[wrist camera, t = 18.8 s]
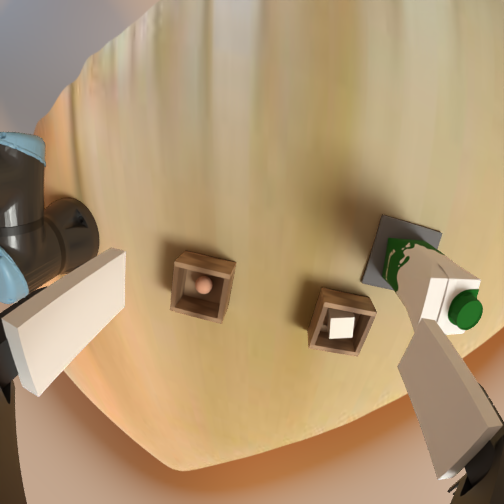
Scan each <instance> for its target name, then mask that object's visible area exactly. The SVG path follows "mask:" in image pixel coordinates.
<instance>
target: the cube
mask: <svg viewBox="0 0 504 504" xmlns="http://www.w3.org/2000/svg"><path fill="white" fill-rule="evenodd" d="M354 318H355V317H354V314H353V312H348V311H343V310H338V309H333V308H328V321H327V328H328V334H329V339H334V338H352V337H353V328H354Z"/></svg>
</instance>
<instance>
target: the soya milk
mask: <svg viewBox="0 0 504 504" xmlns="http://www.w3.org/2000/svg"><path fill="white" fill-rule="evenodd" d="M382 278H383V279H384V280H385V281H386V282H387V283H388V284H389V285H390V286H391V287H392V288H393V289H394V291H395V292H396V294H397V295H398V297H399V298H400V300H401V301H402V303H403V304H404V306H405V307H406V309H407V312H408V315H409V317H410V320H411V323H412V326H413V329H414V332H415V331H416V329H417V327H418V325H419V322H420V320H421V318H426V319H431V320H435V321H436V322H437V324H438V325H439V327H440V328H441V329H442V331H443V332H444V333H445V335H449V334H463V333H464V332H465V330H468V329H471V328H472V327H474V326H475V325H476V324H477V323H478V321H479V320H480V318H481V316H482V312H483V307H482V304H481V303H480V301H479V300H477V295H478V291H479V289H478V288H479V285H480V281H481V280H480V279H479V278H477V277H476V276H474V275H473V274H471V273H469V272H468V271H466V270H465V269H463V268H462V267H460V266H458V265H457V264H456V263H454V262H453V261H452V260H451V259H449V258H448V257H447V256H445V255H444V254H443V253H441V252H440V251H439V250H437V249H436V248H434V247H433V246H432V245H430V244H429V243H427V242H426V241H423V240H411V239H399V238H388V242H387V248H386V255H385V261H384V267H383V273H382Z"/></svg>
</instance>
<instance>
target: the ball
mask: <svg viewBox="0 0 504 504" xmlns="http://www.w3.org/2000/svg"><path fill="white" fill-rule="evenodd" d="M212 287H213V283H212V281H211V279H210V278H209V277H206V276H201V277H199V278H198V279H197V280H196V282H195V288H196V290H197V291H198V292H199V293H201V294H206V293H209V292H210V291H211V290H212Z"/></svg>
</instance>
